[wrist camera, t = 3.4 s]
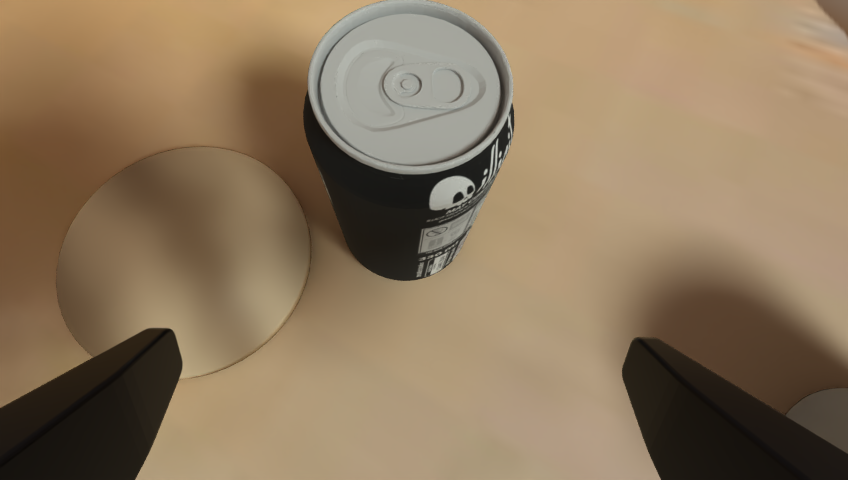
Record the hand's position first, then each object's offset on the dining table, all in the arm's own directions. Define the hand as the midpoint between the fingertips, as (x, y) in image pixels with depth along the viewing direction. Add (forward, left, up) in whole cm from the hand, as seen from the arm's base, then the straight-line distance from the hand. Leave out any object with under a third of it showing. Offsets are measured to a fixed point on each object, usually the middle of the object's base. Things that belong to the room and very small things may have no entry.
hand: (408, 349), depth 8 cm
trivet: (-4, +12, -13) cm, 18 cm away
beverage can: (+5, +5, -13) cm, 15 cm away
